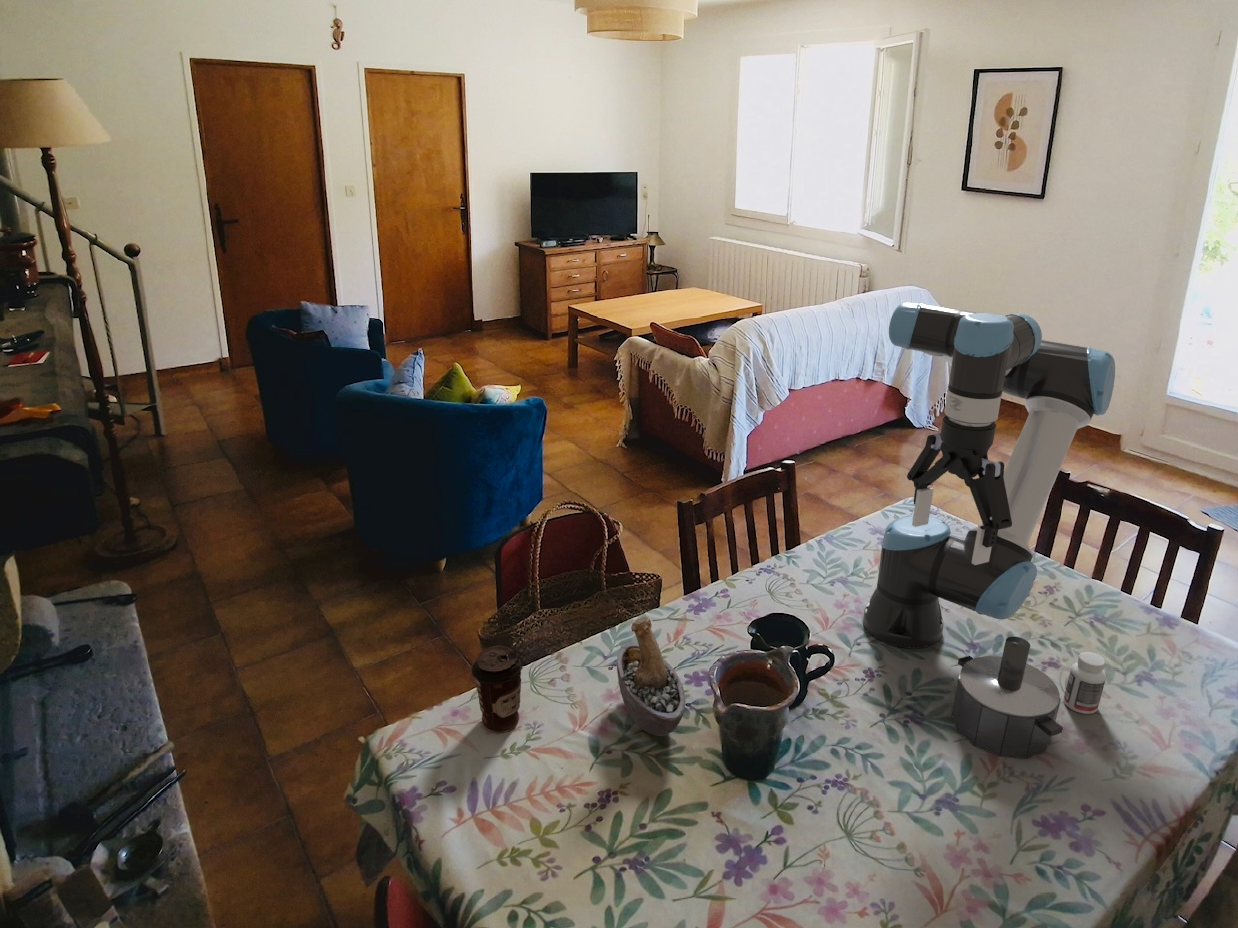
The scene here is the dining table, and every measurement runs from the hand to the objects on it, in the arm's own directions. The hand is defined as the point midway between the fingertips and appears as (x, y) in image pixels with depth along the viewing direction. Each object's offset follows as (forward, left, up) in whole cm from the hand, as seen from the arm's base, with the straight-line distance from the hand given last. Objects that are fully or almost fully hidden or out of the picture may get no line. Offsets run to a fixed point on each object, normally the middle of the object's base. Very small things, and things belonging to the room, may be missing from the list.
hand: (948, 542), depth 135 cm
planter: (-14, -46, -32) cm, 58 cm away
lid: (+10, +8, -24) cm, 28 cm away
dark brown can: (-23, -69, -32) cm, 80 cm away
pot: (+10, +8, -32) cm, 34 cm away
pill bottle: (+11, +25, -32) cm, 42 cm away
